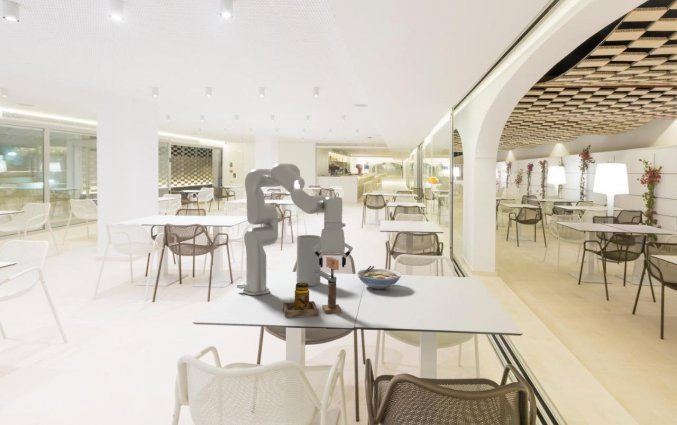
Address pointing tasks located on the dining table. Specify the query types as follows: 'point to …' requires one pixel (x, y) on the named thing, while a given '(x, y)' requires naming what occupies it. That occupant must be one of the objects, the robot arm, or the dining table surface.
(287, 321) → the dining table surface
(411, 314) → the dining table surface
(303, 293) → the condiment
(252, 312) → the dining table surface
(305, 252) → the cylinder vase
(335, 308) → the frame
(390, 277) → the ramen bowl
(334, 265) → the t key
